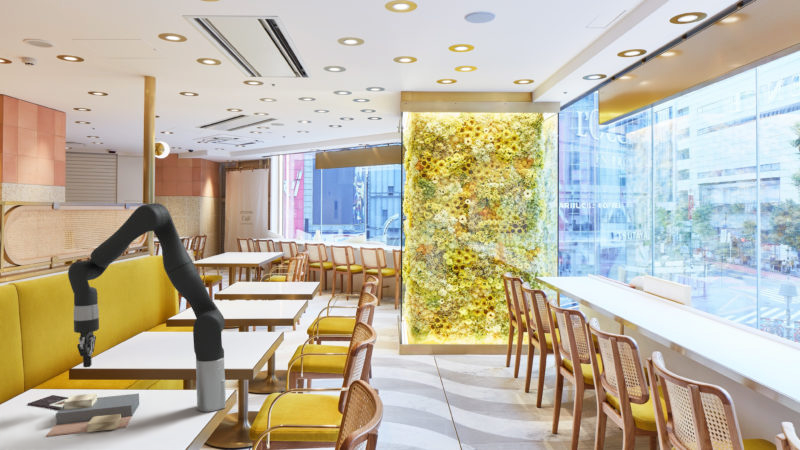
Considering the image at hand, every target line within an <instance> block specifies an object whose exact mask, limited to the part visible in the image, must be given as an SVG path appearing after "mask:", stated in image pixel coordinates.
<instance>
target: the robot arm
mask: <svg viewBox="0 0 800 450" xmlns="http://www.w3.org/2000/svg"><path fill="white" fill-rule="evenodd" d="M148 232H153V234H154V235H155V236H156V239H157V240H158V243H159V245H160V247H161V254H162V264H163V269H164V271H165V274H166V276H167V277H168V279H169V280H170V281H169V282H171V284H172V286H173V287H174V289H175V290H176V291H177V292H178V294H179V295H181V296H182V297H183V298H184V299H185V300H186V302H187V303H188V304H189V305H190V307H191V309H192V312H193V313H194V316H195V318H196V319H195V321H194V323H193V328H192V335H193V338H192V339H193V351H194V354H195V368H196V369H195V372H196V406H197V407H196V409H197V410H198V411H200V412H203V413H204V412H206V413H207V412H213V411H218V410H222V409H225V408H226V404H227V403H226V402H227V397H226V395H227V393H226V375H225V374H226V373H225V349H224V347H223V342H222V341H223V339H222V332H223V331H224V329H225V325H226V323H225V322H226V320H225V318H224V315H223V314H222V312H221V311H220V309H219V308H218V306H217V305H216V304H215V302H214V300H213V298H211V296H210V294H209V292H208V290H207V287H206V285H205V282H204V281H203V279H202V277H201V276H200V273H199V271H198V268H197V267H196V265H195V264H194V261H193V260H192V257H190V255H189V252H188V251H187V248H186V247H185V245H184V243H183V241H182V238H180V235H179V233H178V230H177V228H176V225H175V223H174V220H173V218H172V215H171V213H170V211H169V210H168V208H166V206H165V205H163V204H162V203H158V202H157V203H156V202H154V203H153V202H152V203H146V204H143V205H140V206H138V207H137V208H136V209H135V210H134V211H132V213H131V215H130V216H128V218H127V219H126V221H125V222H124V223H123V224H122V225H121V226H120V227H119V228H118V229H117V230H116V231H115V232H114V233H113V234H111V236H109V237H108V238H106V239H105V240H104V241H103V242H102V243H101V244H99V245H98V246H97V247H95V249H93V251H92V252H91V253H90V258H89V259H87V260H79V261H75V262H73V263H72V264H70V265H69V268H68V270H67V271H68V272H67V276H68V280H69V283H70V286H71V290H72V293H73V295H74V296H73V303H74V304H73V305H74V306H73V331H74V333H76V334H79V337H78V344H77V345H76V346H77V349H78V353H79V356H80V357H82V362H83V363H82V364H83V365H82V366H83V368H90V367H91V366H92V364H93V363H92V355H93V353H94V351H95V345H96V339H97V336H96V335H94V332H96V331H99V329H100V313H99V312H100V311H99V310H100V309H99V305H98V304H99V303H98V290H97V288H96V287H92V286H90V284H89V281H92V280H96V279H97V278H99V277H100V276H102V275H103V273H104V272H105V271H106V270H107V268H108V267H109V266H110V265H111V264H112V263H113V262H115V261H116V260H117V259H118V258H120V257H121V256H122V255H123V254H124V253H125V252H126V250H127V249H128V248H129V246H130V245H131V244H132V243H133V242H134V240H136V239H138V238H139V237H141V236H142V235H145V234H146V233H148Z"/></svg>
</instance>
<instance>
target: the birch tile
mask: <svg viewBox="0 0 800 450" xmlns="http://www.w3.org/2000/svg"><path fill="white" fill-rule="evenodd" d="M97 398H98V393H97V392H95V393H86V394H77V395H70V396H68V399H67V400H66V401H65V402H64V410H66V409H75V408H84V407H92V406H93V405H94V404H95V402H96V401H97Z"/></svg>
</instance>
